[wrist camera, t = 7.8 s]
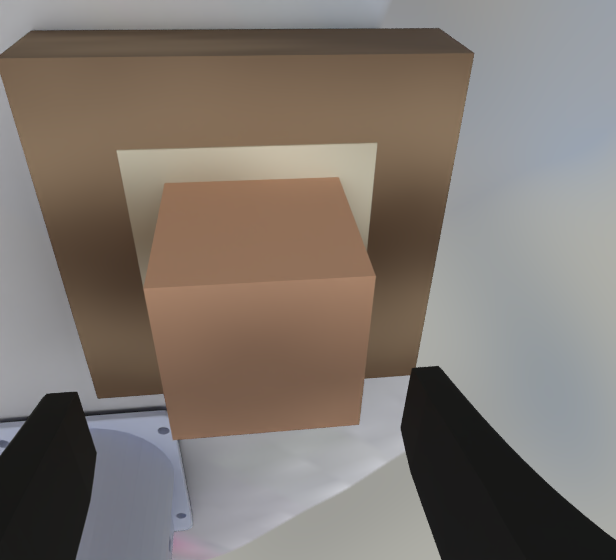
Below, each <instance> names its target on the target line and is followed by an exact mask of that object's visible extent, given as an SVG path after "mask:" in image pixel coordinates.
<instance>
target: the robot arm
mask: <svg viewBox="0 0 616 560" xmlns="http://www.w3.org/2000/svg"><path fill="white" fill-rule="evenodd" d="M163 427H166V428H163ZM401 432H402V437H403V442H404V446H405V451H406V455H407V459H408V463H409V468H410V472H411V475H412V478H413V480H414V483H415V486H416V489H417V492H418V495H419V497H420V501H421V503H422V506H423V509H424V512H425V515H426V517H427V520H428V523H429V526H430V529H431V531H432V534H433V537H434V540H435V543H436V545H437V548H438V551H439V554H440V556H441V559H442V560H616V540H615V539H614V538H612V537H611V536H610V535H608V534H607V533H606V532H604V531H603V530H602V529H601V528H599V527H598V526H597V525H596V524H594V523H593V522H592V521H590V519H588V518H587V517H586V516H584V515H583V514H582V513H581V512H580V511H579V510H577V509H576V508H575V507H574V506H573V505H572V504H570V503H569V502H568V501H567V500H566V499H565V498H563V497H562V496H561V495H560V494H559V493H558V492H557V491H556V490H554V489H553V488H552V487H551V486H550V485H549V484H548V483H547V482H546V481H545V480H544V479H543V478H542V477H540V476H539V475H538V474H537V473H536V472H535V471H534V470H533V469H532V468H531V467H530V466H529V465H528V464H527V463H526V462H525V461H524V460H523V459H522V458H521V457H520V456H519V455H518V454H517V453H516V452H515V451H514V450H513V449H512V448H511V447H510V446H509V445H508V444H507V443H506V442H505V440H503V438H502V437H501V436H500V435H499V434H498V433H497V432H496V431H495V430H494V429H493V428H492V427H491V426H490V425H489V423H488V422H487V421H486V420H485V419H484V418H483V417H482V416H481V415H480V413H479V412H478V411H477V410H476V409H475V408H474V407H473V405H472V404H471V403H470V402H469V401H468V400H467V399H466V397H465V396H464V395H463V394H462V393H461V392H460V390H459V389H458V388H457V387H456V386H455V384H454V383H453V382H452V381H451V380H450V379H449V377H448V376H447V375H446V374H445V373H444V371H443V370H442V369H441V368H440V367H439V366H432V367H418V368H412V369H411V375H410V380H409V385H408V391H407V396H406V401H405V407H404V412H403V418H402V423H401ZM192 525H193V517H192V511H191V506H190V501H189V495H188V490H187V484H186V479H185V474H184V468H183V463H182V458H181V452H180V447H179V442H178V440H173V439H172V434H171V428H170V423H169V418H168V413H167V411H166V410H158V411H145V412H133V413H120V414H107V415H94V416H85V415H84V411H83V408H82V405H81V402H80V399H79V396H78V393H77V392H64V393H50V394H46V395H45V396H44V397H43V398H42V399H41V401H40V402H39V404H38V405H37V406H36V408H35V409H34V410H33V412H32V413H31V415H30V416H29V417H28V419H27V420H26V421H18V422H5V423H0V560H172V548H173V536H174V532H175V531H184V530H188V529H190V528H191V527H192Z"/></svg>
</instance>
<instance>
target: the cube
mask: <svg viewBox="0 0 616 560" xmlns="http://www.w3.org/2000/svg"><path fill="white" fill-rule="evenodd" d="M375 280H376V275H375V272H374V269H373V267H372V264H371V261H370V259H369V256H368V254H367V251H366V248H365V246H364V243H363V240H362V238H361V235H360V232H359V230H358V227H357V224H356V222H355V219H354V216H353V214H352V211H351V208H350V206H349V203H348V200H347V198H346V195H345V192H344V190H343V187H342V184H341V182H340V179H339V177H327V178H298V179H269V180H240V181H211V182H182V183H164V188H163V193H162V198H161V203H160V208H159V213H158V218H157V223H156V228H155V233H154V238H153V243H152V248H151V253H150V258H149V263H148V268H147V273H146V278H145V283H144V288H143V290H144V295H145V300H146V305H147V310H148V315H149V320H150V326H151V331H152V336H153V341H154V346H155V351H156V356H157V362H158V367H159V372H160V377H161V382H162V387H163V392H164V398H165V403H166V408H167V413H168V418H169V423H170V428H171V434H172V439H173V440H182V439H194V438H206V437H218V436H230V435H242V434H253V433H265V432H277V431H289V430H301V429H313V428H325V427H337V426H349V425H359V421H360V412H361V403H362V395H363V386H364V377H365V368H366V359H367V350H368V342H369V333H370V324H371V315H372V306H373V297H374V289H375Z"/></svg>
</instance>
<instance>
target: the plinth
mask: <svg viewBox="0 0 616 560" xmlns="http://www.w3.org/2000/svg"><path fill="white" fill-rule="evenodd" d="M473 58H474V53H473V52H472V51H470V50H469V49H468V48H466V47H465V46H464V45H462V44H461V43H459V42H458V41H456V40H455V39H453V38H452V37H451V36H449V35H448V34H447V33H445V32H444V31H442V30H441V29H439V28H421V29H420V28H409V29H408V28H404V29H230V30H56V31H30V32H29V33H27V34H26V35H25V36H24V37H22V38H21V39H20V40H19V41H17V42H16V43H15V44H13V45H12V46H11V47H10V48H8V49H7V50H6V51H5V52H3V53H2V54H1V55H0V74H1V77H2V81H3V84H4V87H5V91H6V94H7V97H8V101H9V104H10V107H11V111H12V114H13V117H14V121H15V124H16V127H17V131H18V134H19V137H20V141H21V144H22V147H23V151H24V154H25V157H26V161H27V164H28V168H29V171H30V174H31V178H32V181H33V184H34V188H35V191H36V194H37V198H38V201H39V204H40V208H41V211H42V214H43V218H44V221H45V224H46V228H47V231H48V234H49V238H50V241H51V244H52V248H53V251H54V254H55V258H56V261H57V264H58V268H59V271H60V274H61V278H62V281H63V284H64V288H65V291H66V294H67V298H68V301H69V304H70V308H71V311H72V314H73V318H74V321H75V324H76V328H77V331H78V334H79V338H80V341H81V344H82V348H83V351H84V354H85V358H86V361H87V364H88V368H89V371H90V374H91V378H92V381H93V384H94V388H95V391H96V394H97V398H98V399H100V398H113V397H127V396H140V395H153V394H164V392H163V387H162V382H161V377H160V372H159V367H158V362H157V356H156V351H155V346H154V341H153V336H152V331H151V326H150V320H149V315H148V310H147V305H146V300H145V295H144V290H143V288H144V283H145V278H146V273H147V268H148V263H149V258H150V253H151V248H152V243H153V238H154V233H155V228H156V223H157V218H158V213H159V208H160V203H161V198H162V193H163V188H164V183H182V182H211V181H240V180H269V179H298V178H327V177H339V179H340V182H341V184H342V187H343V190H344V192H345V195H346V198H347V200H348V203H349V206H350V208H351V211H352V214H353V216H354V219H355V222H356V224H357V227H358V230H359V232H360V235H361V238H362V240H363V243H364V246H365V248H366V251H367V254H368V256H369V259H370V261H371V264H372V267H373V269H374V272H375V275H376V280H375V289H374V297H373V306H372V315H371V324H370V333H369V342H368V350H367V359H366V368H365V377H364V379H365V378H379V377H392V376H405V375H411V369H412V368H416V363H417V358H418V352H419V347H420V341H421V336H422V330H423V325H424V320H425V314H426V309H427V303H428V299H429V293H430V288H431V283H432V277H433V272H434V267H435V261H436V255H437V250H438V245H439V240H440V234H441V228H442V223H443V218H444V213H445V208H446V202H447V197H448V191H449V186H450V181H451V176H452V170H453V165H454V159H455V154H456V149H457V143H458V138H459V133H460V127H461V122H462V117H463V111H464V106H465V101H466V95H467V90H468V85H469V78H470V74H471V68H472V63H473Z"/></svg>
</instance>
